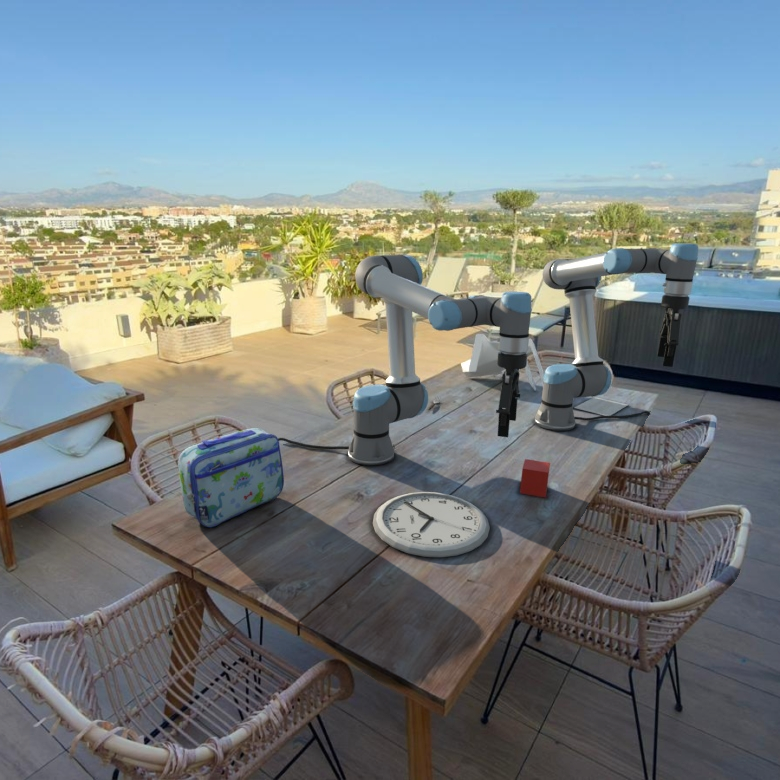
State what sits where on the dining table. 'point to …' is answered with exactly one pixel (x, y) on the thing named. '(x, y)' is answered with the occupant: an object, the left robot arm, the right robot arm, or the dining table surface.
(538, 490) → the brick
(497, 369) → the white plastic object
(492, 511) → the dining table surface
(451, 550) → the wall clock
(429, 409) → the fork
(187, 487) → the lunch box
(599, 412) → the invitation card
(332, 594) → the dining table surface
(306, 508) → the dining table surface
